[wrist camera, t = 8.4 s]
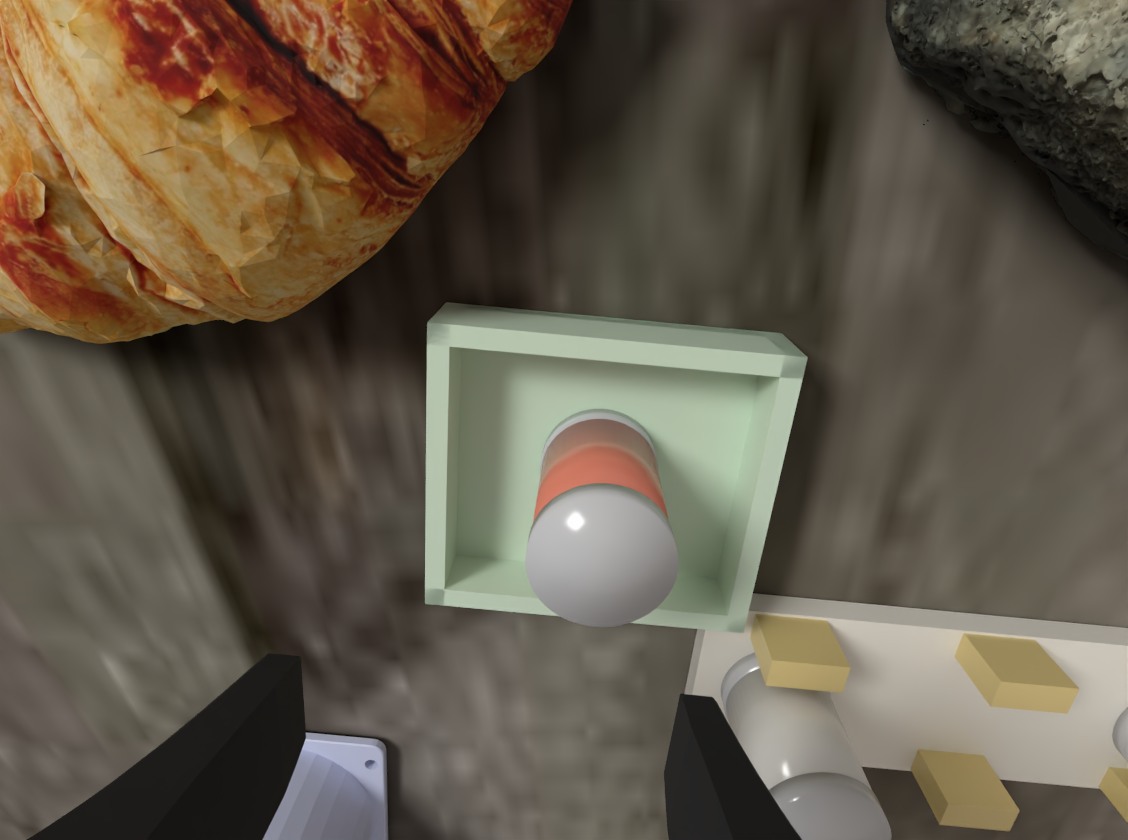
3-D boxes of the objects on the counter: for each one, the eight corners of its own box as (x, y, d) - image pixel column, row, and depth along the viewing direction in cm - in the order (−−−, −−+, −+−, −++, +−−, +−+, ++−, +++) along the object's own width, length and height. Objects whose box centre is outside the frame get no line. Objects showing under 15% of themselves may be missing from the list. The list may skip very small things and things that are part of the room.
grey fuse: (811, 731, 24) (872, 890, 19) (713, 722, 24) (746, 879, 19) (834, 653, 23) (907, 801, 18) (730, 644, 23) (771, 789, 18)
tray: (727, 584, 23) (743, 633, 21) (441, 558, 23) (424, 603, 21) (782, 333, 20) (807, 357, 17) (445, 302, 20) (427, 322, 17)
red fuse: (649, 516, 21) (668, 632, 16) (539, 508, 22) (522, 621, 16) (662, 412, 20) (688, 503, 15) (544, 404, 20) (528, 491, 15)
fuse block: (1181, 774, 26) (1258, 856, 23) (677, 727, 26) (688, 803, 23) (1262, 640, 23) (1361, 712, 20) (705, 588, 23) (722, 653, 20)
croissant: (104, 338, 24) (20, 519, 19) (-252, 84, 17) (-547, 263, 12) (638, 43, 20) (722, 174, 14) (459, -473, 13) (498, -590, 7)
